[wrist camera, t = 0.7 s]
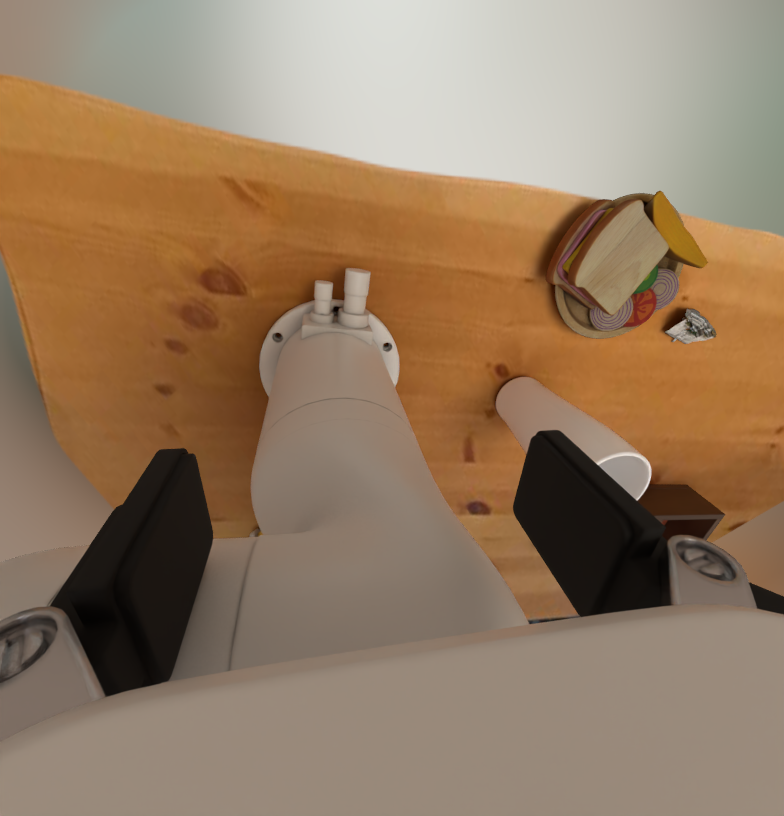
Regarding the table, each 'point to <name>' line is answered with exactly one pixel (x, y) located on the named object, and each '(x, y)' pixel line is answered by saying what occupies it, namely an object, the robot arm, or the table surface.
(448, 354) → the table surface
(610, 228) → the toy sandwich meal
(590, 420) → the tall white cup
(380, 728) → the robot arm
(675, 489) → the divided wooden box
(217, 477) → the table surface
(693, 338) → the silver ridged wedge
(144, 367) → the table surface
